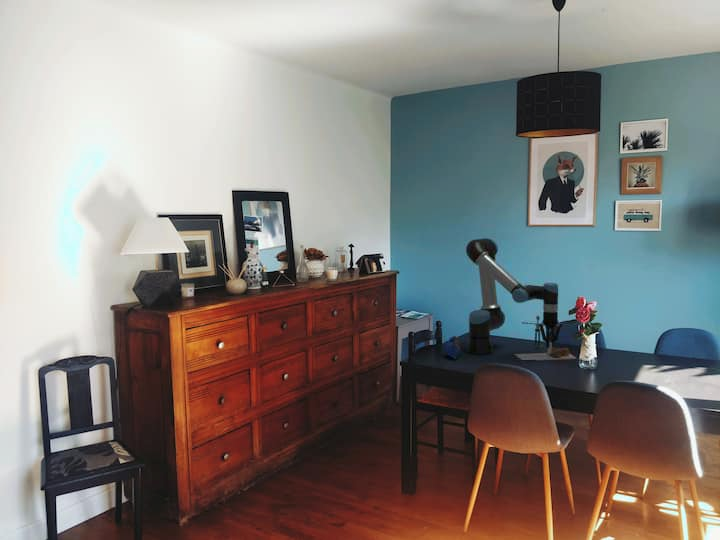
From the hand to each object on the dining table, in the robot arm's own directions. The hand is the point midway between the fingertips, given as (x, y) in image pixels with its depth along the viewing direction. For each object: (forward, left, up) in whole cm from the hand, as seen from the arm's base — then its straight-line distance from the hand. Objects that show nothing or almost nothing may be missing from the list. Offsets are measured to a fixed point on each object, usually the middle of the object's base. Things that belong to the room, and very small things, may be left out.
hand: (549, 353), depth 311 cm
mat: (-3, 0, -2) cm, 3 cm away
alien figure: (+1, +21, -2) cm, 21 cm away
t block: (+5, 0, -1) cm, 6 cm away
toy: (-52, +8, -2) cm, 53 cm away
